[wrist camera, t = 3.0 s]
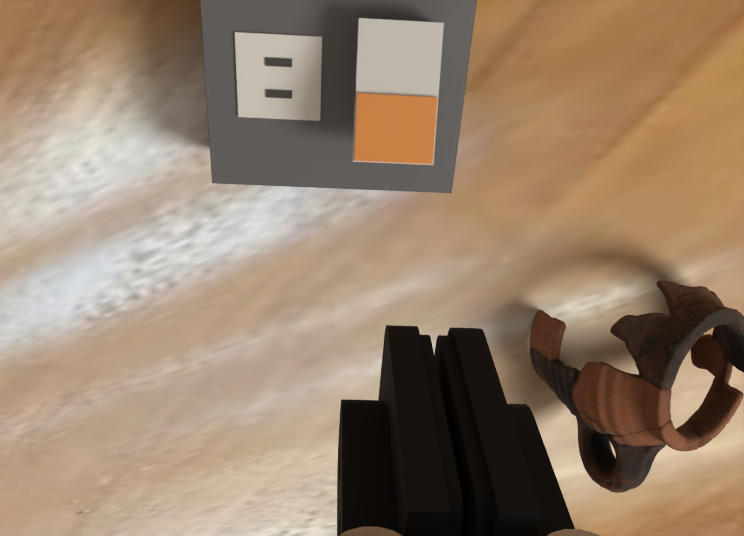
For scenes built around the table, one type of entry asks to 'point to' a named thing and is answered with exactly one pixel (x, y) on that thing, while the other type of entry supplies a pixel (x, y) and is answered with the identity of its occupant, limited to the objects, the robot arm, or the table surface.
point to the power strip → (316, 92)
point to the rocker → (396, 91)
